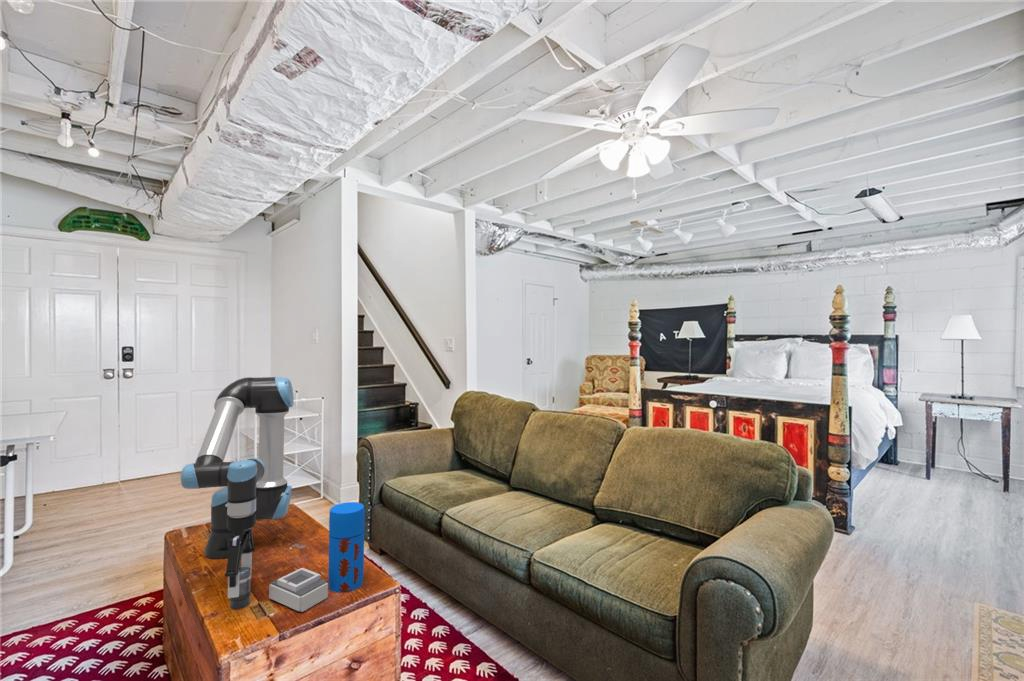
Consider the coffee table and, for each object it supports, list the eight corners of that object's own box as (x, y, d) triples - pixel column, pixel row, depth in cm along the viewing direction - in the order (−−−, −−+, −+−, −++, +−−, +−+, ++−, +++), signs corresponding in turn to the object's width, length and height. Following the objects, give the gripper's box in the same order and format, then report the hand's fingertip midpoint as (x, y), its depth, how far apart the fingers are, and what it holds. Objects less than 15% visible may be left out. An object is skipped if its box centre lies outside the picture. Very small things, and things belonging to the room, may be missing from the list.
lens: (225, 606, 137) (225, 572, 137) (243, 597, 142) (244, 564, 142) (236, 612, 135) (236, 577, 135) (254, 602, 140) (255, 569, 140)
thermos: (334, 576, 156) (335, 502, 156) (366, 575, 157) (367, 501, 157) (323, 593, 145) (325, 514, 145) (358, 592, 146) (359, 513, 146)
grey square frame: (269, 599, 141) (269, 577, 141) (296, 585, 150) (297, 564, 150) (300, 613, 134) (300, 590, 134) (327, 598, 143) (328, 576, 143)
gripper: (239, 501, 149) (238, 567, 149) (213, 531, 125) (211, 609, 125) (265, 499, 152) (263, 564, 151) (244, 528, 128) (242, 605, 127)
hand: (240, 585), depth 138 cm, fingers open, 13 cm apart
